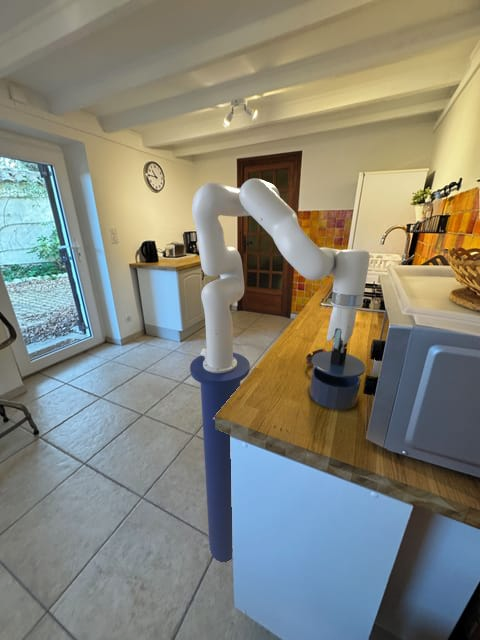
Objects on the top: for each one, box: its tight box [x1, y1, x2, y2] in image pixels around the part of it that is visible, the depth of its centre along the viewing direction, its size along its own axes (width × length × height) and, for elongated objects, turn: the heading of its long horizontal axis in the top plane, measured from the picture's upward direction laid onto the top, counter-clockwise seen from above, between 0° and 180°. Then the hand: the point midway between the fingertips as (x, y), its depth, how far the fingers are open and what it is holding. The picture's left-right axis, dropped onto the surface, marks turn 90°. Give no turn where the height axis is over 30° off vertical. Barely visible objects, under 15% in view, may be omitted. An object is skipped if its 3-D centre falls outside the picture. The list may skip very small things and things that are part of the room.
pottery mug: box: [305, 348, 332, 367], centre depth 90 cm, size 12×10×8 cm
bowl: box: [309, 366, 362, 411], centre depth 74 cm, size 13×13×7 cm
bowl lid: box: [312, 348, 366, 378], centre depth 71 cm, size 14×14×6 cm
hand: (337, 361), depth 72 cm, fingers closed on bowl lid, 2 cm apart
